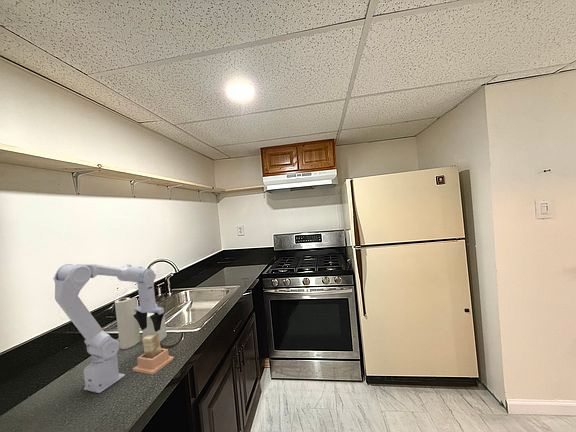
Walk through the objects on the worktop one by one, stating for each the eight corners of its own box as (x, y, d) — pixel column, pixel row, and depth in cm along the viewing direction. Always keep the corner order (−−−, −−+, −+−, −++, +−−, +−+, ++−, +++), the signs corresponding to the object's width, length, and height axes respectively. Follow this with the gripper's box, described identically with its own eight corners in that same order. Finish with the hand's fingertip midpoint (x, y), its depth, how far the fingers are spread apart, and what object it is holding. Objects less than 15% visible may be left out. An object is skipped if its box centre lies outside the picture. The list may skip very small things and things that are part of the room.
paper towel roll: (117, 350, 117) (111, 302, 116) (124, 343, 123) (118, 298, 122) (134, 348, 118) (129, 300, 117) (140, 341, 124) (135, 296, 123)
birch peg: (154, 364, 100) (149, 338, 100) (146, 364, 102) (142, 338, 102) (162, 358, 104) (158, 333, 104) (155, 358, 106) (150, 333, 105)
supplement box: (167, 335, 127) (164, 309, 127) (158, 343, 120) (155, 316, 119) (152, 336, 128) (149, 310, 127) (143, 344, 120) (139, 317, 120)
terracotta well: (153, 374, 96) (151, 362, 96) (133, 371, 100) (131, 359, 100) (174, 359, 106) (172, 348, 105) (155, 356, 109) (154, 345, 109)
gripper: (168, 294, 111) (171, 326, 112) (142, 293, 116) (146, 324, 117) (154, 300, 104) (157, 334, 105) (127, 299, 110) (131, 331, 110)
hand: (150, 329), depth 110 cm, fingers open, 7 cm apart
